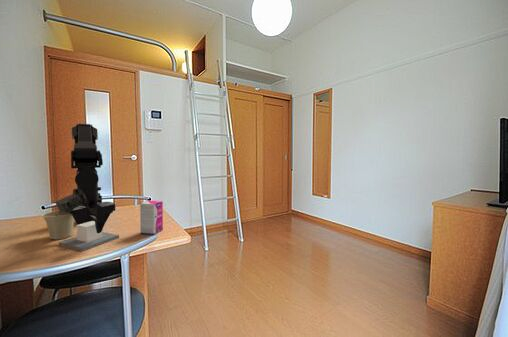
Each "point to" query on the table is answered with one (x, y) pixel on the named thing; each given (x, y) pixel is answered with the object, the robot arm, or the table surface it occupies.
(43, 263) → the table surface
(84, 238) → the off-white cube
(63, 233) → the flower pot
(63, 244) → the gray mat
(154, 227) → the supplement box
